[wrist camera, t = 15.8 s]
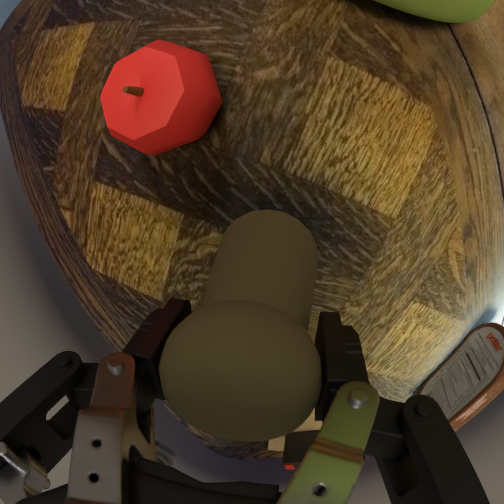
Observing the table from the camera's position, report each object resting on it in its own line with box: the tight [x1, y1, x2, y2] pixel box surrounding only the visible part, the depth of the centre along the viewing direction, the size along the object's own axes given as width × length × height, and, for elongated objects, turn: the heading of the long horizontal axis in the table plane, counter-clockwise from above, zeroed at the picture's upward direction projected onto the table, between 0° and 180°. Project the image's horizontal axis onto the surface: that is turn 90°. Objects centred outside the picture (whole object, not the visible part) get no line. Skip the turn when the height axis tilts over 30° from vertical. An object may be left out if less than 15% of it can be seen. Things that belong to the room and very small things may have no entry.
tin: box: [417, 323, 504, 431], centre depth 20 cm, size 15×3×8 cm, turn 156°
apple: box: [100, 40, 223, 156], centre depth 15 cm, size 8×8×8 cm
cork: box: [159, 209, 322, 442], centre depth 12 cm, size 6×6×11 cm
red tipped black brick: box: [283, 430, 319, 469], centre depth 25 cm, size 6×2×5 cm, turn 105°
